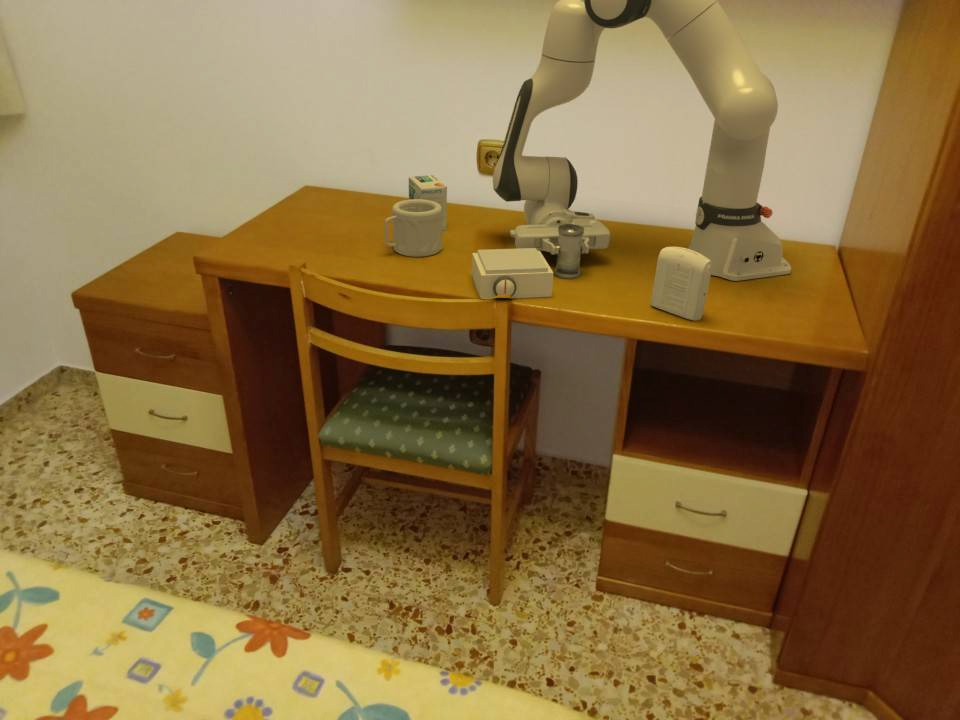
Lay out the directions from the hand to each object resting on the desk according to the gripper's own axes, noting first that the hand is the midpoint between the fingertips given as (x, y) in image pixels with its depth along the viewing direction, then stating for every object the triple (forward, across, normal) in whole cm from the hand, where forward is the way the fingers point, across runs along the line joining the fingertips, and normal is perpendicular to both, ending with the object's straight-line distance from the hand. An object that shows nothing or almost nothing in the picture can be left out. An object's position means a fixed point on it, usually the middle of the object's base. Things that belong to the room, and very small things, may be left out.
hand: (570, 250), depth 153 cm
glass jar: (-1, 0, +6) cm, 6 cm away
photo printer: (+19, +16, +6) cm, 26 cm away
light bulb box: (-35, -26, +6) cm, 44 cm away
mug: (-18, -31, +6) cm, 36 cm away
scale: (+4, -13, +6) cm, 15 cm away
